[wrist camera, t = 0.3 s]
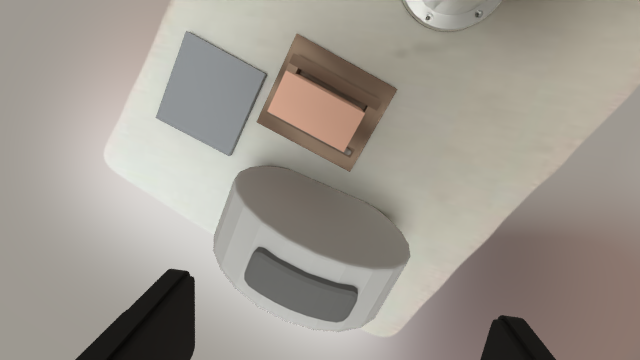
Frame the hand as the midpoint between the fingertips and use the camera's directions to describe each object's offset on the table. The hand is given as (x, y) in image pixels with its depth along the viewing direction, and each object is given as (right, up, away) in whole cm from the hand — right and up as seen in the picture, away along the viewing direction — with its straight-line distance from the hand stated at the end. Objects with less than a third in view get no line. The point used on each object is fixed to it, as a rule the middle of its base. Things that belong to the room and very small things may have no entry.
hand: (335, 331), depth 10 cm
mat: (-15, +16, +32) cm, 39 cm away
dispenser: (0, +14, +31) cm, 34 cm away
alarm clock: (-1, +1, +35) cm, 35 cm away
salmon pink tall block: (0, +14, +30) cm, 33 cm away
